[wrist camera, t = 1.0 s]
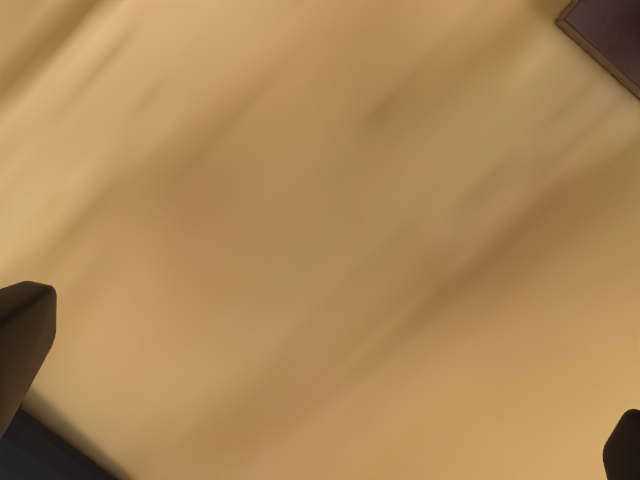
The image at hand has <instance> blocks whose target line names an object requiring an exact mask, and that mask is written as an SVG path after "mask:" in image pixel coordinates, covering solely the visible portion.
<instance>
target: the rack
mask: <svg viewBox="0 0 640 480" xmlns="http://www.w3.org/2000/svg"><path fill="white" fill-rule="evenodd" d="M556 25H558V26H559V27H560V28H561V29H562V30H563V31H564V32H565V33H566V34H568V35H569V36H570V37H571V38H572V39H573V40H574V41H575V42H576V43H578V44H579V45H580V46H581V47H582V48H583V49H584V50H585V51H587V52H588V53H589V54H590V55H591V56H592V57H593V58H594V59H595V60H597V61H598V62H599V63H600V64H601V65H602V66H603V67H604V68H605V69H607V70H608V71H609V72H610V73H611V74H612V75H613V76H614V77H616V78H617V79H618V80H619V81H620V82H621V83H622V84H623V85H624V86H626V87H627V88H628V89H629V90H630V91H631V92H632V93H633V94H634V95H636V96H637V97H638V98H639V99H640V0H574V1H573V2H572V3H571V4H570V5H569V7H568V8H567V9H566V10H565V11H564V12H563V13H562V15H561V16H560V17H559V18H558V19H557V20H556Z"/></svg>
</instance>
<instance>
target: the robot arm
mask: <svg viewBox="0 0 640 480" xmlns="http://www.w3.org/2000/svg"><path fill="white" fill-rule="evenodd" d="M56 303H57V295H56V291H55V289H54V288H53V287H52V286H51V285H46V284H42V283H37V282H32V281H23V282H20V283H17V284H14V285H11V286H8V287H5V288H2V289H0V438H1V437H2V435H3V434H4V432H5V430H6V429H7V427H8V425H9V424H10V422H11V420H12V418H13V417H14V415H15V413H16V411H17V409H18V407H19V406H20V404H21V402H22V400H23V398H24V396H25V395H26V393H27V391H28V389H29V387H30V385H31V384H32V382H33V380H34V378H35V376H36V374H37V373H38V371H39V369H40V367H41V365H42V363H43V362H44V360H45V358H46V356H47V354H48V352H49V351H50V349H51V347H52V345H53V342H54V339H55V334H56ZM603 463H604V467H605V471H606V475H607V479H608V480H640V410H637V409H630V410H628V411H626V412H625V413H624V414H623V415H622V417H621V419H620V420H619V422H618V424H617V425H616V427H615V429H614V430H613V432H612V434H611V435H610V437H609V439H608V440H607V442H606V444H605V446H604V449H603Z"/></svg>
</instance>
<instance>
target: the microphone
mask: <svg viewBox="0 0 640 480" xmlns="http://www.w3.org/2000/svg"><path fill="white" fill-rule="evenodd" d="M0 480H116V479H114V478H113V477H112V476H110V475H109V474H108V473H106V472H105V471H104V470H102V469H101V468H100V467H98V466H97V465H96V464H94V463H93V462H92V461H90V460H89V459H88V458H86V457H85V456H84V455H82V454H81V453H80V452H78V451H77V450H76V449H74V448H73V447H72V446H70V445H69V444H68V443H66V442H65V441H64V440H62V439H61V438H60V437H58V436H57V435H56V434H54V433H53V432H52V431H50V430H49V429H48V428H46V427H45V426H44V425H42V424H41V423H40V422H38V421H37V420H36V419H34V418H33V417H32V416H30V415H29V414H28V413H26V412H25V411H24V410H22V409H21V408H20V407H18V409H17V411H16V413H15V415H14V417H13V418H12V420H11V422H10V424H9V425H8V427H7V429H6V430H5V432H4V434H3V435H2V437H1V438H0Z"/></svg>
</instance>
